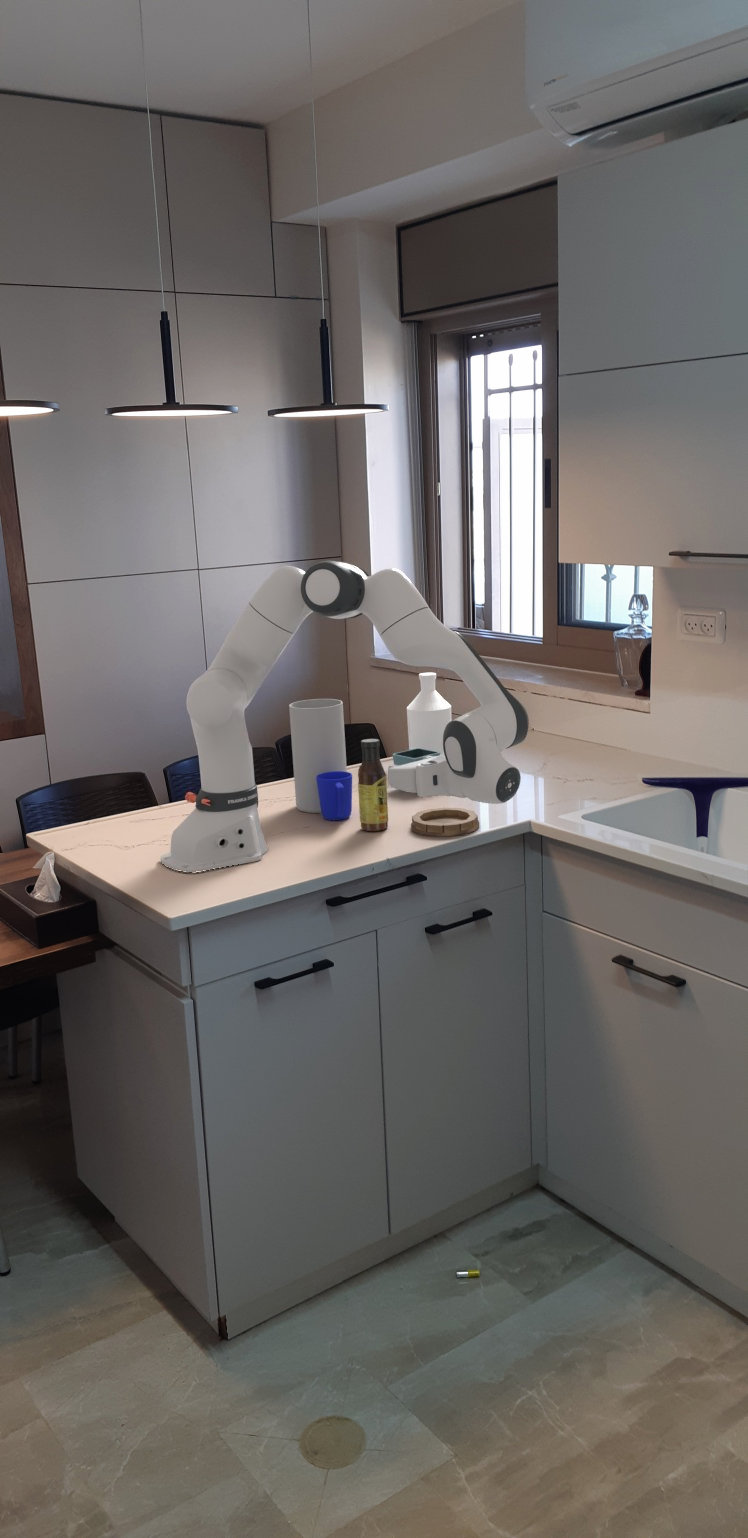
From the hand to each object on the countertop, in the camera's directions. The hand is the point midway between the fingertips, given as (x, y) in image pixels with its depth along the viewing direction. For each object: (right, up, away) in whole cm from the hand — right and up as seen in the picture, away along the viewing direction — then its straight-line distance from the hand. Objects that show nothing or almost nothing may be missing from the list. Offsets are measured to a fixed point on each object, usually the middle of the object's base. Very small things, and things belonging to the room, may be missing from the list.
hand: (408, 764), depth 243 cm
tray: (+8, -14, +11) cm, 20 cm away
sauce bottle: (-7, -14, +13) cm, 21 cm away
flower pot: (+4, -6, +46) cm, 47 cm away
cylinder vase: (-19, -10, +33) cm, 40 cm away
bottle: (+8, 0, +69) cm, 69 cm away
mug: (-15, -13, +22) cm, 29 cm away
